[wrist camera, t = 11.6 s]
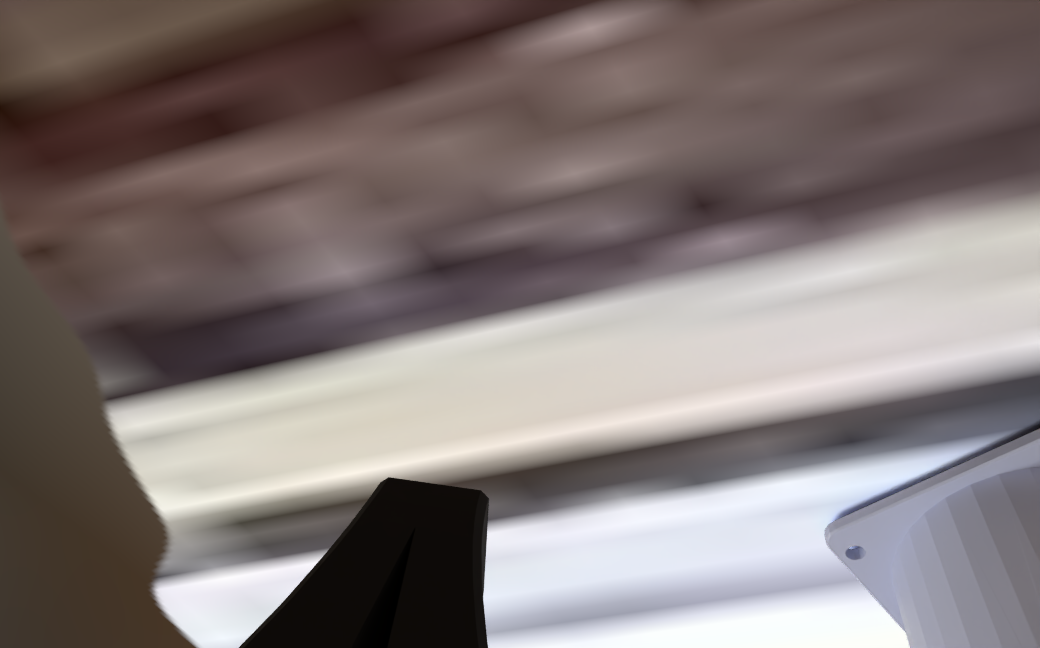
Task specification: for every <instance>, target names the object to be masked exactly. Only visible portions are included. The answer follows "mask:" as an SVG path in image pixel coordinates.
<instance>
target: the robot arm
mask: <svg viewBox="0 0 1040 648" xmlns="http://www.w3.org/2000/svg"><path fill="white" fill-rule="evenodd" d="M488 506H489V498H488V497H487V496H486V495H485V494H484V493H483V492H482V491H481V490H474V489H467V488H460V487H453V486H446V485H439V484H432V483H425V482H418V481H411V480H403V479H396V478H389V477H388V478H387V479H385V480H384V481H382V482H381V483H380V484H379V485H378V487H377V488H376V489H375V491H374V492H373V494H372V495H371V497H370V498H369V499H368V501H367V502H366V503H365V505H364V506H363V507H362V509H361V510H360V511H359V513H358V514H357V515H356V517H355V518H354V519H353V520H352V522H351V523H350V524H349V526H348V527H347V528H346V529H345V531H344V532H343V533H342V534H341V536H340V537H339V538H338V539H337V540H336V542H335V543H334V544H333V545H332V546H331V548H330V549H329V550H328V551H327V553H326V554H325V555H324V556H323V557H322V558H321V560H320V561H319V562H318V563H317V564H316V565H315V566H314V568H313V569H312V570H311V571H310V572H309V573H308V574H307V576H306V577H305V578H304V579H303V580H302V581H301V582H300V584H299V585H298V586H297V587H296V588H295V589H294V590H293V592H292V593H291V594H290V595H289V596H288V597H287V598H286V599H285V600H284V602H283V603H282V604H281V605H280V606H279V607H278V608H277V609H276V610H275V611H274V612H273V613H272V614H271V615H270V616H269V617H268V618H267V619H266V620H265V621H264V622H263V623H262V624H261V625H260V626H259V627H258V629H257V630H256V631H255V632H254V633H253V634H252V635H251V636H250V637H249V638H248V639H247V640H246V641H245V642H244V643H243V644H242V645H241V646H240V647H239V648H488V645H487V635H486V625H485V614H484V604H483V592H484V575H485V557H486V540H487V523H488ZM824 535H825V540H826V544H827V546H828V547H829V549H830V550H831V551H832V552H833V553H834V554H835V555H836V556H837V558H838V559H839V560H840V561H841V562H842V563H843V564H844V565H845V566H846V567H847V569H848V570H849V571H850V572H851V573H852V574H853V575H854V576H855V577H856V579H857V580H858V581H859V582H860V583H861V584H862V585H863V586H864V587H865V588H866V590H867V591H868V592H869V593H870V594H871V595H872V596H873V597H874V598H875V599H876V601H877V602H878V603H879V604H880V605H881V606H882V607H883V608H884V609H885V610H886V612H887V613H888V614H889V615H890V616H891V617H892V618H893V619H894V620H895V622H896V623H897V624H898V625H899V626H900V627H901V628H902V629H903V630H904V631H905V633H906V635H907V639H908V642H909V646H910V648H1040V429H1038V430H1035V431H1033V432H1031V433H1029V434H1027V435H1024V436H1022V437H1020V438H1018V439H1015V440H1013V441H1011V442H1009V443H1006V444H1004V445H1002V446H1000V447H998V448H995V449H993V450H991V451H989V452H986V453H984V454H982V455H980V456H978V457H975V458H973V459H971V460H969V461H966V462H964V463H962V464H960V465H958V466H955V467H953V468H951V469H949V470H946V471H944V472H942V473H940V474H938V475H935V476H933V477H931V478H929V479H926V480H924V481H922V482H920V483H918V484H915V485H913V486H911V487H909V488H906V489H904V490H902V491H900V492H898V493H895V494H893V495H891V496H889V497H886V498H884V499H882V500H880V501H878V502H875V503H873V504H871V505H869V506H866V507H864V508H862V509H860V510H858V511H855V512H853V513H851V514H849V515H846V516H844V517H842V518H840V519H838V520H835V521H833V522H832V523H830V524H829V525H828V526H827V527H826V529H825V534H824ZM853 546H860V547H859V548H856V549H849V548H850V547H853Z"/></svg>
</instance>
